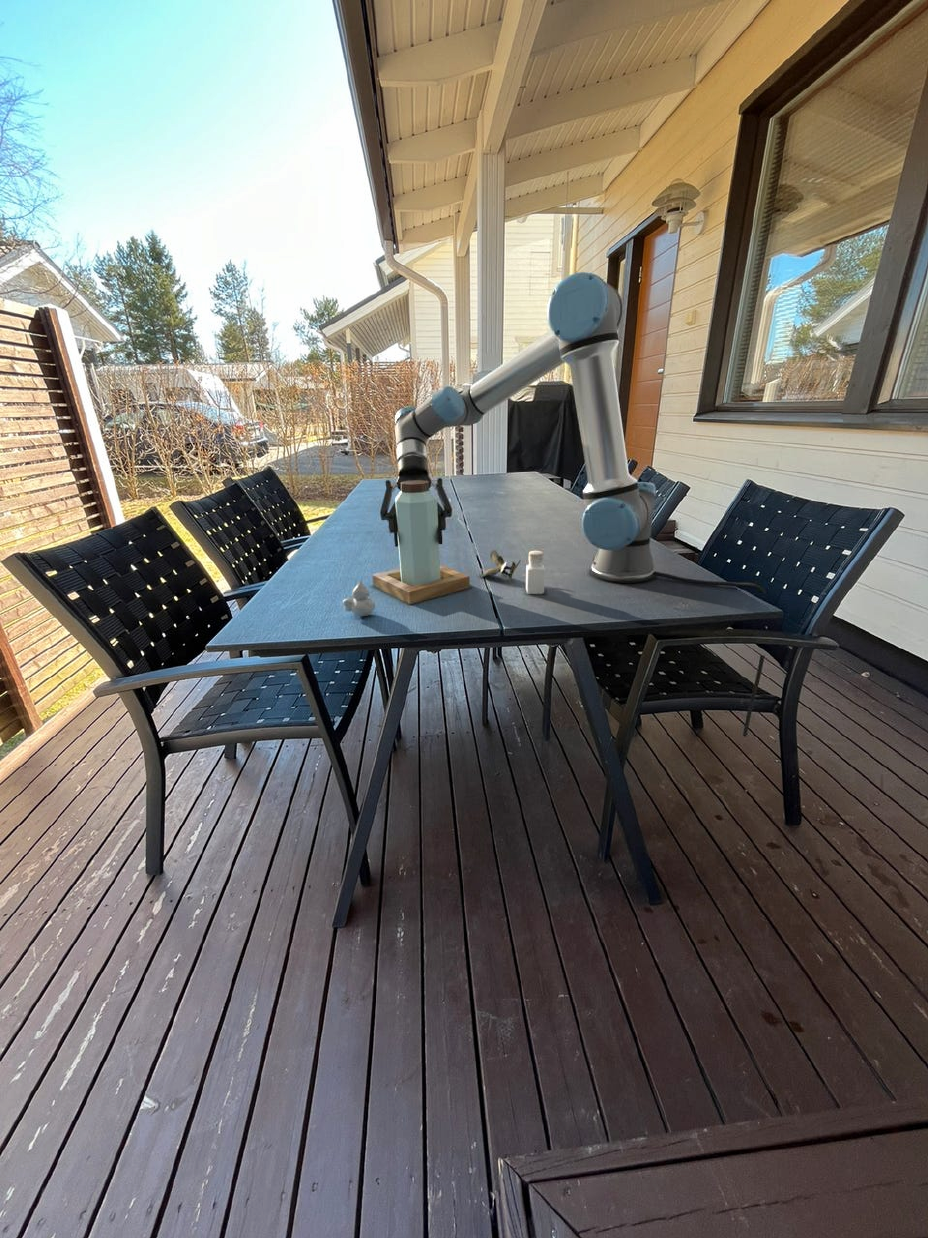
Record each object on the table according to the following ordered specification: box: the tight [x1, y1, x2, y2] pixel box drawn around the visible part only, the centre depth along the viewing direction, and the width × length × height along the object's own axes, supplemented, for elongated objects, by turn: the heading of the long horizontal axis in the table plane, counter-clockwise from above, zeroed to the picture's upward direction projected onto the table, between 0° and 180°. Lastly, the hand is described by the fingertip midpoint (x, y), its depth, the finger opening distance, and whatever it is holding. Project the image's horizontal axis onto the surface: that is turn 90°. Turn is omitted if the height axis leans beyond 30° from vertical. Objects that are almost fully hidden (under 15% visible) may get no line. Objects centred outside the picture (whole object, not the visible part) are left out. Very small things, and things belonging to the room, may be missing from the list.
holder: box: [372, 564, 471, 605], centre depth 127 cm, size 17×17×3 cm
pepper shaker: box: [525, 550, 546, 595], centre depth 121 cm, size 4×4×10 cm
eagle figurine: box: [480, 549, 521, 581], centre depth 132 cm, size 8×7×9 cm
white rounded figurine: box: [342, 580, 376, 617], centre depth 110 cm, size 5×7×8 cm
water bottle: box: [394, 480, 441, 587], centre depth 123 cm, size 10×10×25 cm
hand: (418, 542), depth 121 cm, fingers closed on water bottle, 9 cm apart
